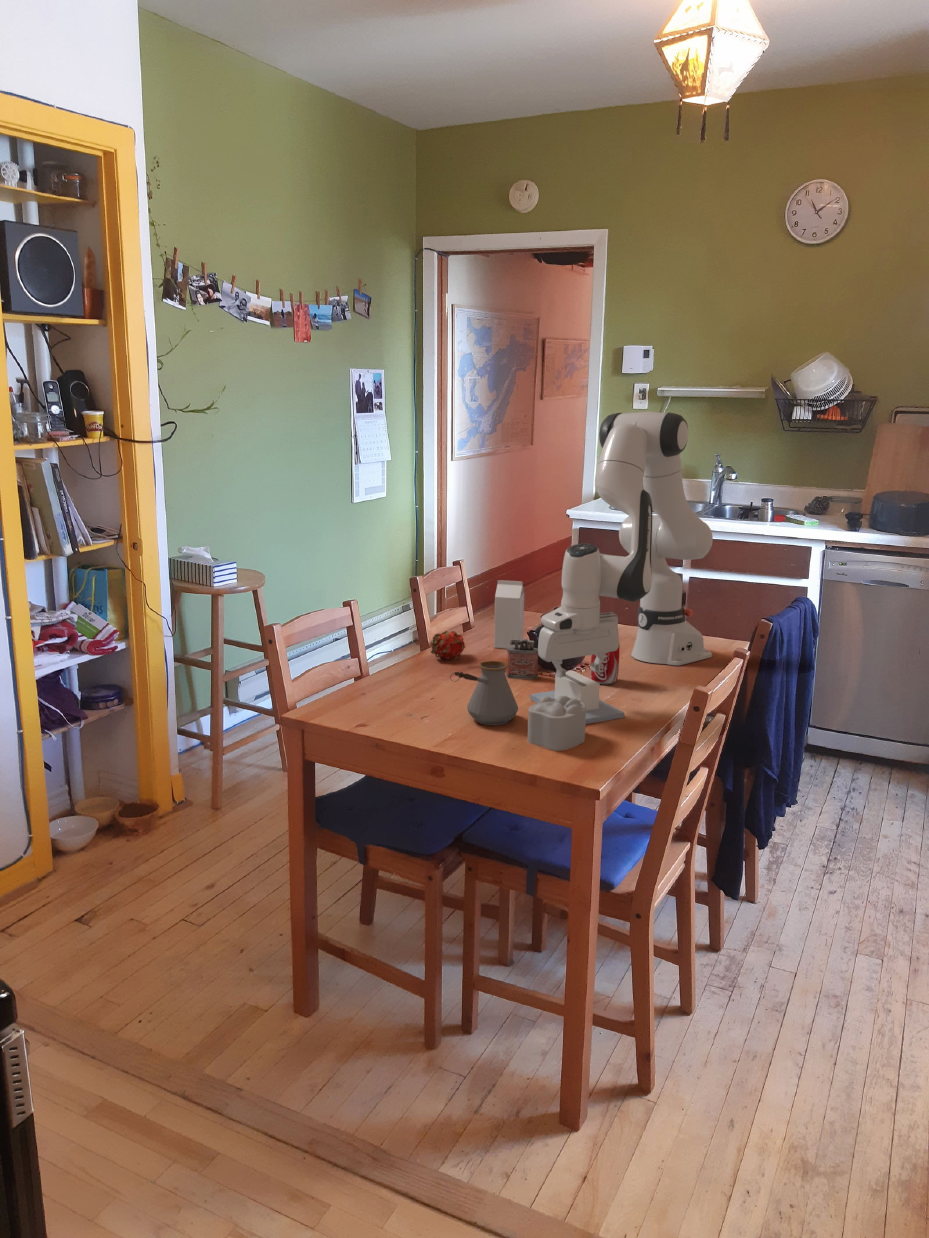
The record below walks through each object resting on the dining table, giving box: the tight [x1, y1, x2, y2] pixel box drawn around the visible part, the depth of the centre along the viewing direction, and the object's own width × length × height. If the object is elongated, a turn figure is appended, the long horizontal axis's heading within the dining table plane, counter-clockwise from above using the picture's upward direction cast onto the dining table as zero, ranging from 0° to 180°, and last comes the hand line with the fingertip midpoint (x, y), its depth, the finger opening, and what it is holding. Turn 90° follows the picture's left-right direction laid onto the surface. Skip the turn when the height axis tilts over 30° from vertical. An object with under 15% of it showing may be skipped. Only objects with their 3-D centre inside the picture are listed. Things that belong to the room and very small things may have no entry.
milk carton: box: [493, 579, 525, 650], centre depth 271 cm, size 7×7×19 cm
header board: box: [529, 690, 625, 725], centre depth 222 cm, size 13×20×5 cm, turn 26°
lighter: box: [506, 638, 539, 680], centre depth 244 cm, size 8×3×10 cm, turn 84°
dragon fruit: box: [430, 630, 466, 661], centre depth 260 cm, size 8×8×12 cm
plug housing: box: [554, 670, 601, 711], centre depth 222 cm, size 5×11×6 cm, turn 26°
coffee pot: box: [449, 660, 519, 726], centre depth 209 cm, size 21×12×15 cm, turn 146°
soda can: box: [589, 643, 621, 685], centre depth 241 cm, size 7×7×12 cm
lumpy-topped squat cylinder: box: [527, 696, 586, 752], centre depth 203 cm, size 10×13×9 cm
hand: (578, 673), depth 221 cm, fingers open, 8 cm apart
